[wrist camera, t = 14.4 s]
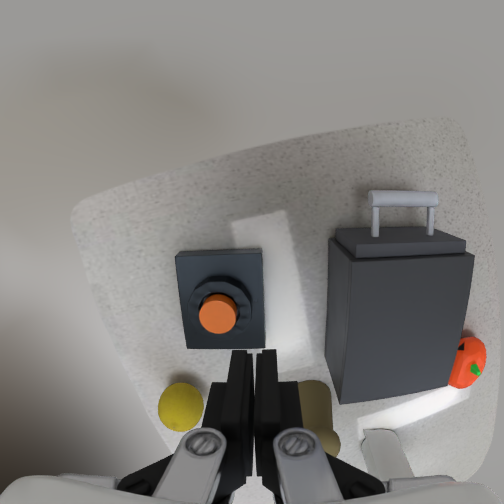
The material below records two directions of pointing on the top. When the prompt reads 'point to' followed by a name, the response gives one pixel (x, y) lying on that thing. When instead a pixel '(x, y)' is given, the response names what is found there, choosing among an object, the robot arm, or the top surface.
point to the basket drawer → (399, 230)
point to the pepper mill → (319, 414)
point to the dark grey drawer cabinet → (393, 322)
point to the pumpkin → (468, 362)
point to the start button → (218, 313)
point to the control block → (225, 283)
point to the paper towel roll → (385, 455)
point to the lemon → (180, 407)
